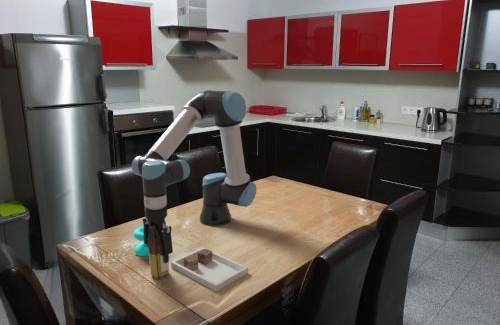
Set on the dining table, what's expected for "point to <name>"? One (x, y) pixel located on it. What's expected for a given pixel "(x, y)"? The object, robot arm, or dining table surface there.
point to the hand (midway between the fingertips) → (159, 266)
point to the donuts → (141, 247)
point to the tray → (212, 271)
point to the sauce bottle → (156, 257)
